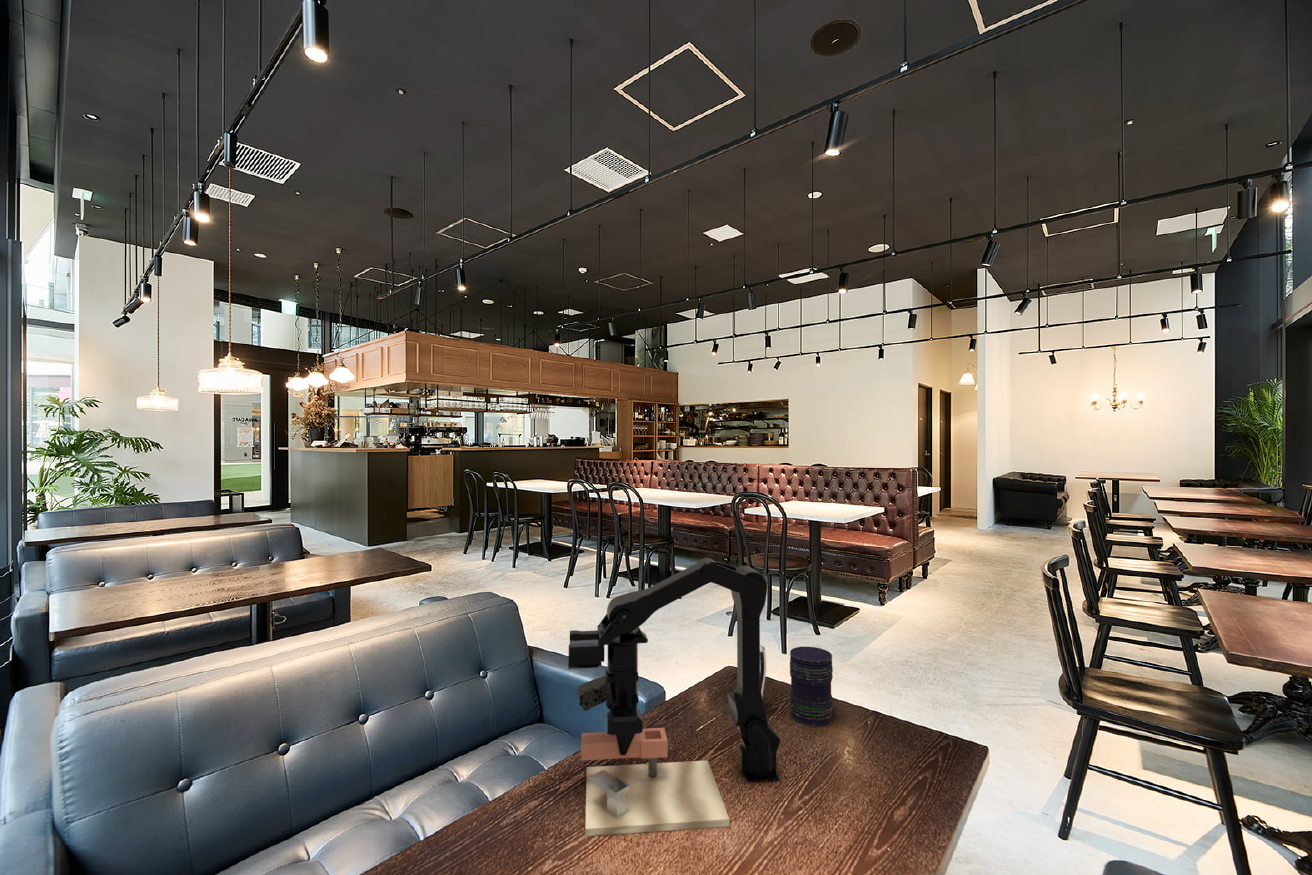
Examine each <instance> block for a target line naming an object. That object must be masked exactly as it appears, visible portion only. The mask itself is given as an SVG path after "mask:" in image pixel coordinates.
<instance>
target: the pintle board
mask: <svg viewBox="0 0 1312 875" xmlns="http://www.w3.org/2000/svg"><path fill="white" fill-rule="evenodd" d="M602 770H605V771H606V772H608V773H610V774H611V775H613V776H615V777H616V778H618V779H620V780H621V781H623V782H625V783H626V784H628V785H629V791H628V812H627V813H625V814H624V815H622V816H621V817H619V818H615V817H614V816H612V815H611V814H609V813H608V812H607V792H606V791H605V790H603V789H602V788H600V787H599V786H597V785H595V784H594V783H592V782H591V781H590V776H592V775H594V774H596V773H598V772H600V771H602ZM585 785H586V786H585V788H586V790H585V826H584V827H585V829H584V830H585V831H584V832H585V834H584V836H585V837H596V836H597V837H598V836H610V835H612V836H613V835H624V834H626V835H627V834H637V833H641V834H642V833H654V832H656V833H657V832H668V831H683V830H695V829H696V830H697V829H712V828H723V827H725V828H726V827H730V816H729V815H728V812H727V809H726V806H725V804H724V801H723V798H722V796H721V792H720V790H719V787H718V784H717V781H716V779H715V776H714V773H713V771H712V768H711V766H710V762H709V760H708V759H707V760H694V761H693V760H690V761H675V762H658V758H648V763H640V764H639V763H638V764H637V763H636V764H621V765H620V764H619V765H603V766H589V767H588V766H587V767H586V783H585Z"/></svg>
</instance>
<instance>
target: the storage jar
mask: <svg viewBox="0 0 1312 875" xmlns="http://www.w3.org/2000/svg"><path fill="white" fill-rule="evenodd" d="M789 656H790V658H789V676H790V690H789V691H790V692H789V708H790V712H789V716H790V715H791V717H792V718H791V717H790V718H791V719H792V720H793V719H794V720H795V721H796V722H795V721H794V720H793V721H794V722H795V723H797V724H799V723H800V724H799V725H801V724H804V725H807V726H806V727H809V726H813V727H812V728H823V727H822V726H824V727H826V726H825V725H827V724H829V725H831V724H832V723H831V722H833V716H832V715H833V710H834V704H833V695H832V681H833V671H834V670H833V668H834V666H833V654H832V653H831V652H830V651H828V650H827V649H823V648H821V647H815V646H796V647H793V648H792V649H790V651H789ZM830 723H831V724H830ZM804 725H803V726H804ZM827 726H828V725H827Z"/></svg>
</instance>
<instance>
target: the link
mask: <svg viewBox="0 0 1312 875" xmlns="http://www.w3.org/2000/svg"><path fill="white" fill-rule="evenodd" d="M580 740H581V742H580V743H581V744H580V761H598V760H616V759H617V760H618V759H631V758H632V759H633V758H640V759H641V760H643V759H649V758H657V759H658V758H668V752H669V750H668V747H669V746H668V745H669V743H668V737H667V732H666V729H665V727H653V728H650V727H649V728H643V732H641V733H639V734H635V736H634V738H633V740H632V742H631V744H630V747H629V749H628V751H627V754H626V755H620V752H619V747H618V742H617V737H616V735H609V734H607V731H603V732H601V731H600V732H583V733H582V732H581V739H580Z"/></svg>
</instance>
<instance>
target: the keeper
mask: <svg viewBox="0 0 1312 875" xmlns="http://www.w3.org/2000/svg"><path fill="white" fill-rule="evenodd" d="M590 781H591V782H592V783H594V784H595V785H597V786H599V787H600V788H602V789H603V790H605V791H606V792H607V812H608V813H609V814H611V815H612V816H614V817H615V818H619V817H621V816H622V815H624V814H625V813H627V812H628V791H629V785H628V784H626V783H625V782H623V781H621V780H620V779H618V778H616V777H615V776H613V775H611V774H610V773H608V772H606V771H605V770H602V771H600V772H598V773H596V774H594V775H592V776H590Z"/></svg>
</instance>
